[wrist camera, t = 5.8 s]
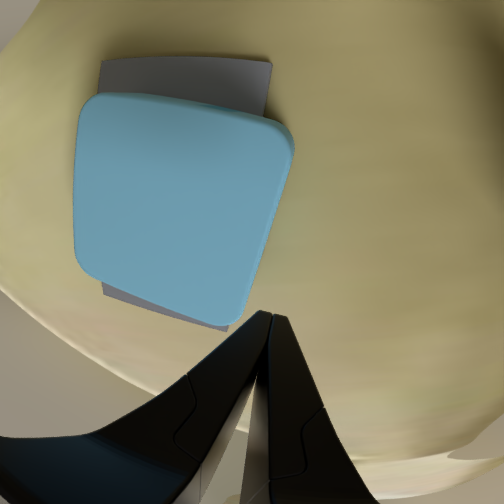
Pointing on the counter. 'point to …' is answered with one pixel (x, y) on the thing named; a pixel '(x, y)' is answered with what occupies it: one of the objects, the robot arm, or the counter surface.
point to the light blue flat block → (176, 199)
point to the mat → (194, 89)
